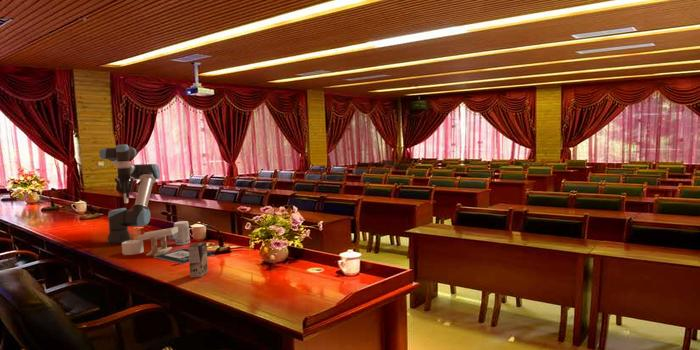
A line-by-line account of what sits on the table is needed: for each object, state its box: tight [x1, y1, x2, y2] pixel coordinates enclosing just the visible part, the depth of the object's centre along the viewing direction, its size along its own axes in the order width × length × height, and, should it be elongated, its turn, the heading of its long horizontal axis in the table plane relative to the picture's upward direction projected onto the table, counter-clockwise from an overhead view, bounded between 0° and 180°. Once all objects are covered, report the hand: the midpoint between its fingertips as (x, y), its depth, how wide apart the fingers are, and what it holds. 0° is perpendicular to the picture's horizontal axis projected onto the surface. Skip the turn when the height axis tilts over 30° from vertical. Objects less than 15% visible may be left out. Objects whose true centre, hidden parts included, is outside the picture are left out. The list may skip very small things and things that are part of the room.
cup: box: [121, 239, 145, 256], centre depth 292 cm, size 11×11×7 cm
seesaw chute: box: [136, 226, 178, 241], centre depth 295 cm, size 22×18×7 cm
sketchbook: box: [153, 247, 215, 265], centre depth 278 cm, size 22×30×2 cm
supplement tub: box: [173, 220, 191, 246], centre depth 313 cm, size 10×10×15 cm
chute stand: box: [145, 236, 173, 257], centre depth 292 cm, size 9×17×10 cm, turn 178°
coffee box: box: [188, 241, 209, 278], centre depth 238 cm, size 9×6×16 cm
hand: (126, 202), depth 310 cm, fingers closed
